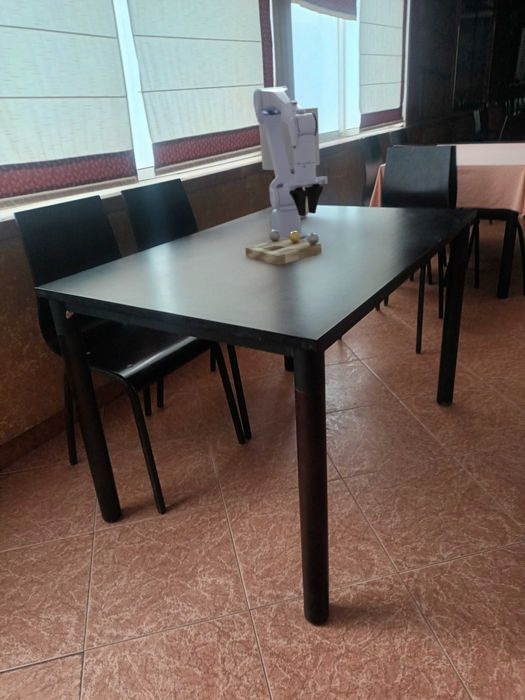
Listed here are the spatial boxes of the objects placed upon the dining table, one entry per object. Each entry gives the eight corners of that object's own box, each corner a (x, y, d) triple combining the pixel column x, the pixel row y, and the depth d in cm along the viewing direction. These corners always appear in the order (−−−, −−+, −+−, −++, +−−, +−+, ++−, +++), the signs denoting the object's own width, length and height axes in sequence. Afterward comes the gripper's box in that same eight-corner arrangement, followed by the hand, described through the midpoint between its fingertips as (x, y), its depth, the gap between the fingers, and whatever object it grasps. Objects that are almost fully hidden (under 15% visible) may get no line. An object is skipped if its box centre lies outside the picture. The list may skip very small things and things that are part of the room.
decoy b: (304, 245, 135) (304, 233, 133) (313, 242, 136) (313, 231, 135) (312, 246, 132) (312, 235, 131) (321, 244, 134) (321, 232, 133)
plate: (246, 256, 139) (245, 247, 138) (287, 245, 147) (286, 236, 146) (278, 265, 128) (278, 255, 127) (321, 252, 136) (321, 243, 135)
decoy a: (267, 241, 143) (266, 230, 142) (276, 238, 145) (275, 227, 143) (274, 242, 141) (273, 231, 139) (283, 240, 142) (282, 229, 141)
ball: (287, 242, 139) (286, 231, 138) (295, 240, 141) (295, 229, 139) (294, 244, 137) (293, 232, 135) (303, 241, 138) (302, 230, 137)
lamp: (270, 214, 194) (262, 111, 179) (322, 211, 191) (318, 105, 175) (263, 225, 176) (253, 111, 160) (320, 222, 173) (316, 105, 157)
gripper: (293, 166, 126) (296, 220, 132) (334, 159, 133) (335, 210, 139) (276, 166, 131) (280, 217, 137) (317, 159, 139) (318, 208, 144)
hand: (307, 214), depth 138 cm, fingers open, 3 cm apart
